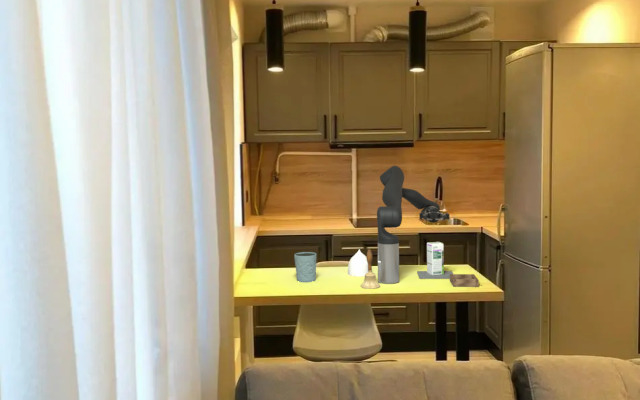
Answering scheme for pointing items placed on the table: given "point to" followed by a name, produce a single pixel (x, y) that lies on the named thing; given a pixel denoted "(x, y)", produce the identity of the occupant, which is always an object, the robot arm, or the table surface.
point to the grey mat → (427, 276)
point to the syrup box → (435, 258)
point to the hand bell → (370, 274)
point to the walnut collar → (464, 280)
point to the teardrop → (358, 265)
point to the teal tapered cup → (305, 266)
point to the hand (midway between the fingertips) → (435, 217)
